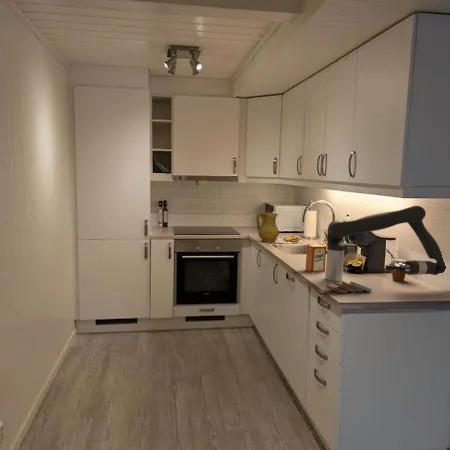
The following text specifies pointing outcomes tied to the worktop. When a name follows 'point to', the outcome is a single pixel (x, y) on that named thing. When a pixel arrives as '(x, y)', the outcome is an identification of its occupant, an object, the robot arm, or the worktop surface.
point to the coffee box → (349, 253)
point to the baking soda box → (315, 258)
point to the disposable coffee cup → (396, 274)
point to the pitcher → (267, 227)
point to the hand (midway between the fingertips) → (386, 267)
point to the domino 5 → (360, 286)
